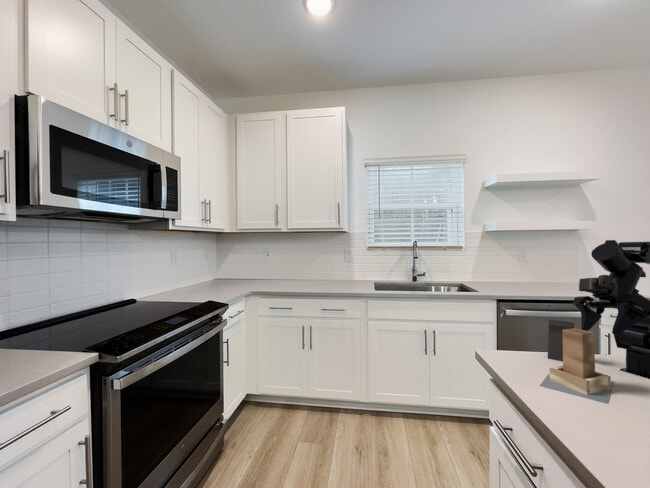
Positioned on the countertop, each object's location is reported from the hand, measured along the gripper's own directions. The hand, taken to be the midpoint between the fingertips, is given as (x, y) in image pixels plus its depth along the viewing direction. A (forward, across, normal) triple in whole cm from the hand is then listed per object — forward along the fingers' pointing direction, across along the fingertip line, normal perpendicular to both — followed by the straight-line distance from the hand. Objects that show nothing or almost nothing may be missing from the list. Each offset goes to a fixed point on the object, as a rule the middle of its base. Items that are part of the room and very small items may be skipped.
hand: (598, 332), depth 80 cm
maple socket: (+14, +1, 0) cm, 14 cm away
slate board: (+15, +1, 0) cm, 15 cm away
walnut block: (+14, +1, 0) cm, 15 cm away
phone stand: (+7, -18, +7) cm, 20 cm away
